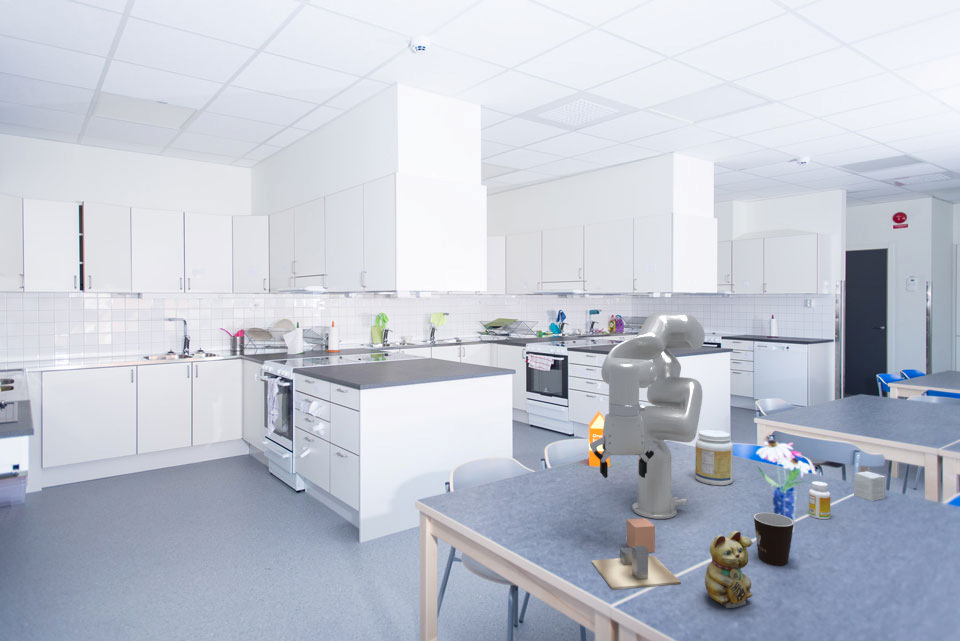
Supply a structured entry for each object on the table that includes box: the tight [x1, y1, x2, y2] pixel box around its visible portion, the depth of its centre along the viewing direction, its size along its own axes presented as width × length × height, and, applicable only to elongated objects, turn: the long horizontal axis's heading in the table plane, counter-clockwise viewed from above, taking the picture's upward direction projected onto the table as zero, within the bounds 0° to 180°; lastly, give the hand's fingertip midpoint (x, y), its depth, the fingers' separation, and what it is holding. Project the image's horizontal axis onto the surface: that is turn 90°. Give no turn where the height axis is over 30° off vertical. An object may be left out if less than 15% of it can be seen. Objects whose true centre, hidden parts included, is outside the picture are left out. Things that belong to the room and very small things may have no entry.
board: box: [591, 555, 682, 590], centre depth 130 cm, size 16×13×1 cm
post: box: [632, 546, 649, 580], centre depth 126 cm, size 3×3×6 cm
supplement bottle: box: [808, 480, 831, 520], centre depth 163 cm, size 5×5×10 cm
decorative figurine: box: [704, 530, 753, 609], centre depth 118 cm, size 10×8×15 cm
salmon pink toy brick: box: [626, 517, 656, 553], centre depth 142 cm, size 5×5×7 cm
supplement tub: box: [695, 429, 734, 486], centre depth 196 cm, size 12×12×17 cm
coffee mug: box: [753, 512, 795, 567], centre depth 137 cm, size 12×9×10 cm
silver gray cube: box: [619, 547, 632, 566], centre depth 133 cm, size 3×3×3 cm
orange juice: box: [588, 410, 610, 468], centre depth 218 cm, size 8×9×20 cm
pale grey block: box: [853, 470, 886, 502], centre depth 180 cm, size 6×6×7 cm
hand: (623, 476), depth 144 cm, fingers open, 9 cm apart
